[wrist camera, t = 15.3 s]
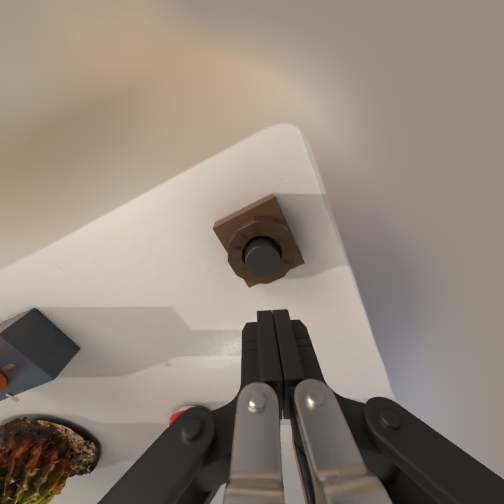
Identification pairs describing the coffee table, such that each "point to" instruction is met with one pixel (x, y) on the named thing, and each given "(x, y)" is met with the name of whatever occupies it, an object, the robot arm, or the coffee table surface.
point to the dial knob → (2, 382)
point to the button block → (253, 227)
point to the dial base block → (31, 352)
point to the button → (262, 257)
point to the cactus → (40, 460)
